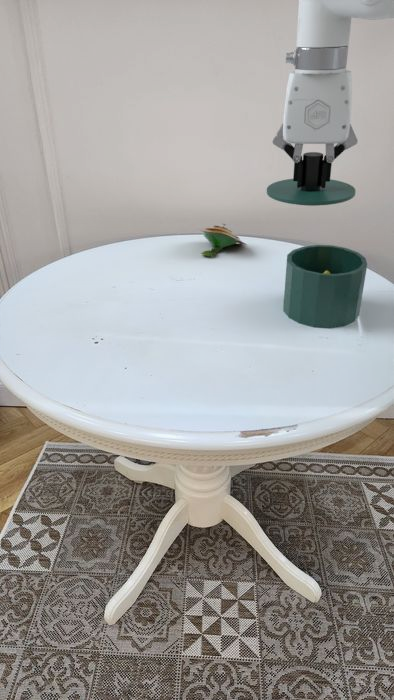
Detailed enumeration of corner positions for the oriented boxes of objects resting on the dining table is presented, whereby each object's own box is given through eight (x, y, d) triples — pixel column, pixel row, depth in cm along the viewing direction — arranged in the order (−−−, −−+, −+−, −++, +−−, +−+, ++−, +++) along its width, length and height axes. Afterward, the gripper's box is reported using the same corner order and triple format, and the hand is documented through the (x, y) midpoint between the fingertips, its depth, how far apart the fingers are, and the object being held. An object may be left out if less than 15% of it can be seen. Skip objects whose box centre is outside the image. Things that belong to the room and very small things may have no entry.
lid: (350, 184, 95) (355, 144, 91) (358, 210, 83) (364, 165, 79) (268, 184, 97) (270, 144, 93) (264, 208, 85) (265, 164, 81)
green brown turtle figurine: (247, 265, 117) (258, 227, 116) (189, 248, 116) (199, 210, 115) (237, 269, 132) (246, 235, 131) (185, 254, 130) (194, 220, 130)
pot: (354, 297, 103) (362, 246, 98) (361, 333, 92) (370, 277, 86) (283, 294, 105) (287, 243, 100) (282, 328, 94) (286, 273, 88)
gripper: (264, 64, 77) (260, 191, 87) (381, 61, 75) (364, 192, 85) (266, 60, 84) (262, 179, 93) (375, 57, 81) (359, 180, 91)
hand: (311, 184), depth 89 cm, fingers closed on lid, 3 cm apart
